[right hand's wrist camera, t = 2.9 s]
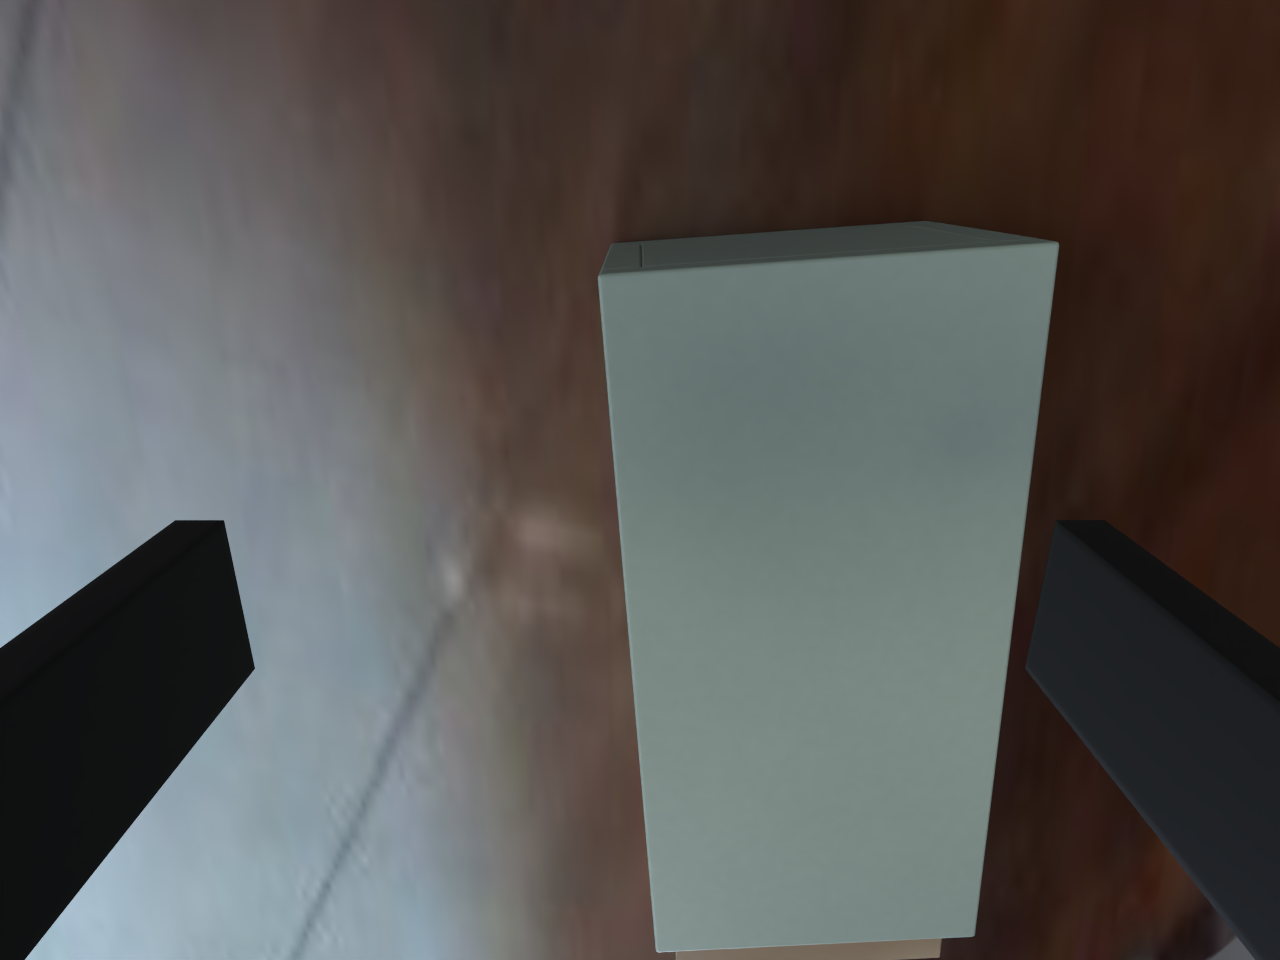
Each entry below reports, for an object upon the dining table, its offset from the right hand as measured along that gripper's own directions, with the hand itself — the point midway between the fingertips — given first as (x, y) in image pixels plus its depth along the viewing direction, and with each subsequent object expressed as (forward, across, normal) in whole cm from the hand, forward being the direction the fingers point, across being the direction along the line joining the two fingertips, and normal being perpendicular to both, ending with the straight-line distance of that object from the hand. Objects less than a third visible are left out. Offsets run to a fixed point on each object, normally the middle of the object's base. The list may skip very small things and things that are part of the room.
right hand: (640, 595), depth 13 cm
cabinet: (+15, +5, -6) cm, 17 cm away
